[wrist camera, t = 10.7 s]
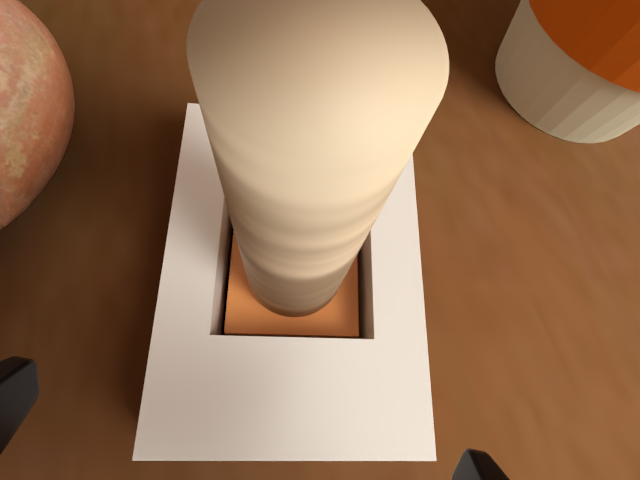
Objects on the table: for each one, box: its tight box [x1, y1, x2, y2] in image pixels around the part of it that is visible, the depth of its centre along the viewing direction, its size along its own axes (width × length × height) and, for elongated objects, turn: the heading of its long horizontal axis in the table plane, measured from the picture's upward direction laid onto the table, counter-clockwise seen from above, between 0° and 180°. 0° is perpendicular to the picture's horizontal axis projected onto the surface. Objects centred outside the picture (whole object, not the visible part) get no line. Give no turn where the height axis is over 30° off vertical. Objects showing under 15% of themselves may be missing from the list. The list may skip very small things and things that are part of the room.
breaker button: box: [224, 231, 359, 339], centre depth 18 cm, size 5×5×2 cm
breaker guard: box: [132, 103, 436, 461], centre depth 17 cm, size 14×10×3 cm
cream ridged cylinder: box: [186, 0, 449, 317], centre depth 12 cm, size 4×4×12 cm
